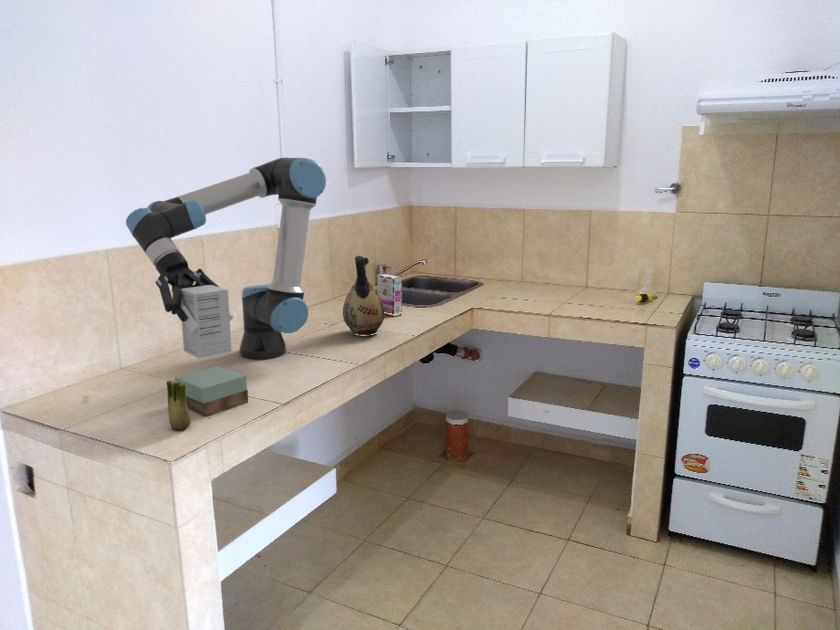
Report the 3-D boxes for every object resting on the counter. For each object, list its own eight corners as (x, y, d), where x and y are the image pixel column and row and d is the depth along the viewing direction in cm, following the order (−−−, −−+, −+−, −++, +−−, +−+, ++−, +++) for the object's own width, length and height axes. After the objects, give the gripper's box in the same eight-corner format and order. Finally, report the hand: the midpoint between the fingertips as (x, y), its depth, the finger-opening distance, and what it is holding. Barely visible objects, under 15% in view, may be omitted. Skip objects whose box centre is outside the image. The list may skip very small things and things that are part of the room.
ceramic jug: (346, 328, 250) (345, 251, 243) (386, 329, 250) (386, 251, 242) (339, 340, 234) (337, 258, 226) (382, 341, 233) (381, 258, 226)
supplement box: (232, 352, 170) (229, 289, 166) (199, 359, 163) (195, 294, 159) (215, 344, 176) (211, 283, 172) (182, 351, 170) (178, 288, 166)
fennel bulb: (167, 426, 159) (163, 379, 156) (187, 421, 162) (183, 376, 159) (173, 434, 154) (169, 386, 151) (194, 429, 157) (190, 382, 154)
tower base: (219, 392, 182) (218, 379, 181) (248, 403, 174) (247, 389, 173) (177, 405, 172) (176, 391, 172) (206, 418, 165) (204, 403, 164)
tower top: (218, 379, 181) (217, 365, 180) (246, 389, 173) (246, 375, 172) (176, 391, 172) (174, 377, 171) (203, 403, 164) (202, 388, 163)
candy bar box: (402, 315, 271) (402, 276, 267) (393, 317, 268) (393, 278, 264) (385, 310, 279) (385, 273, 275) (376, 312, 276) (376, 274, 272)
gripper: (196, 262, 182) (239, 323, 178) (122, 275, 162) (169, 343, 159) (208, 245, 178) (253, 307, 175) (134, 255, 158) (183, 325, 155)
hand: (213, 324), depth 167 cm, fingers closed on supplement box, 11 cm apart
